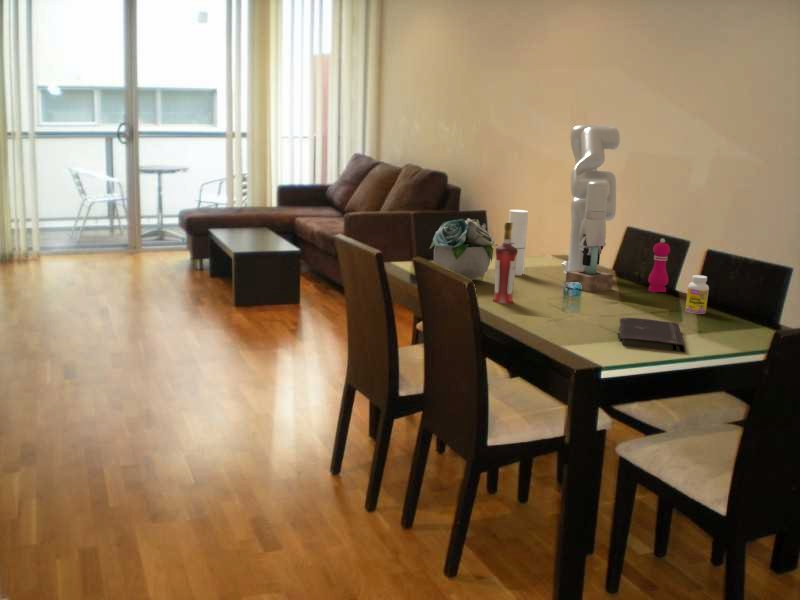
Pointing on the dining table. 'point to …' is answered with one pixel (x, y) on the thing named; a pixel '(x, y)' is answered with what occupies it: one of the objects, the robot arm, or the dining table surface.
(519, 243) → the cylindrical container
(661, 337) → the diary
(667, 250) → the pepper mill
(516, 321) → the dining table surface
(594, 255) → the peg
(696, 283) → the supplement bottle
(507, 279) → the liquor
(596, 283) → the socket block
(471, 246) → the flower arrangement
